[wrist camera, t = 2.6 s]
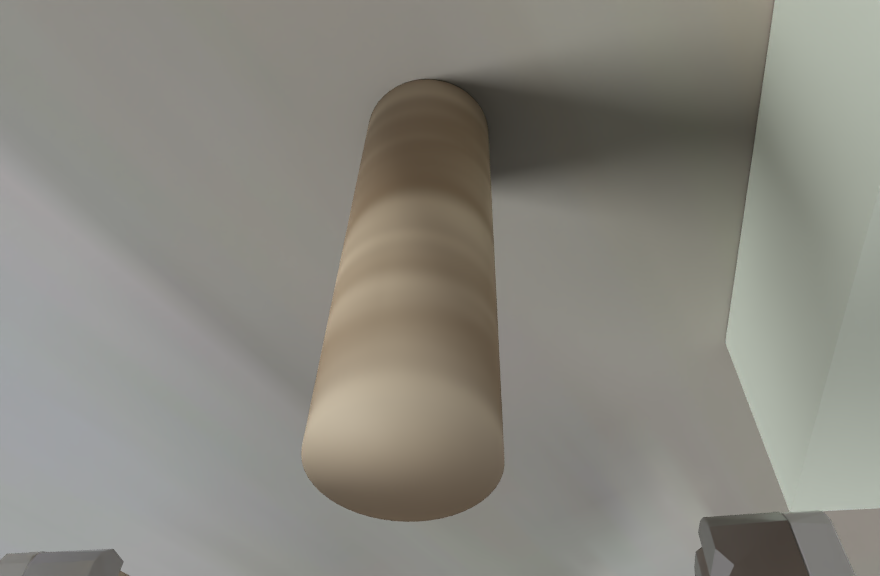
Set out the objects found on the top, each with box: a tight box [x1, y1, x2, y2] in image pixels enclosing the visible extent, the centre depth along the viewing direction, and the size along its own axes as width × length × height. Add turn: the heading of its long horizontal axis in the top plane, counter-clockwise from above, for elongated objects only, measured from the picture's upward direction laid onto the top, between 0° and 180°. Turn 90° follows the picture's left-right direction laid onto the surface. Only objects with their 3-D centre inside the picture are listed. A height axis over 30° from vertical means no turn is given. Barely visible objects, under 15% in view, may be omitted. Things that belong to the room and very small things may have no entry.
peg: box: [301, 79, 504, 522], centre depth 15 cm, size 3×3×10 cm
